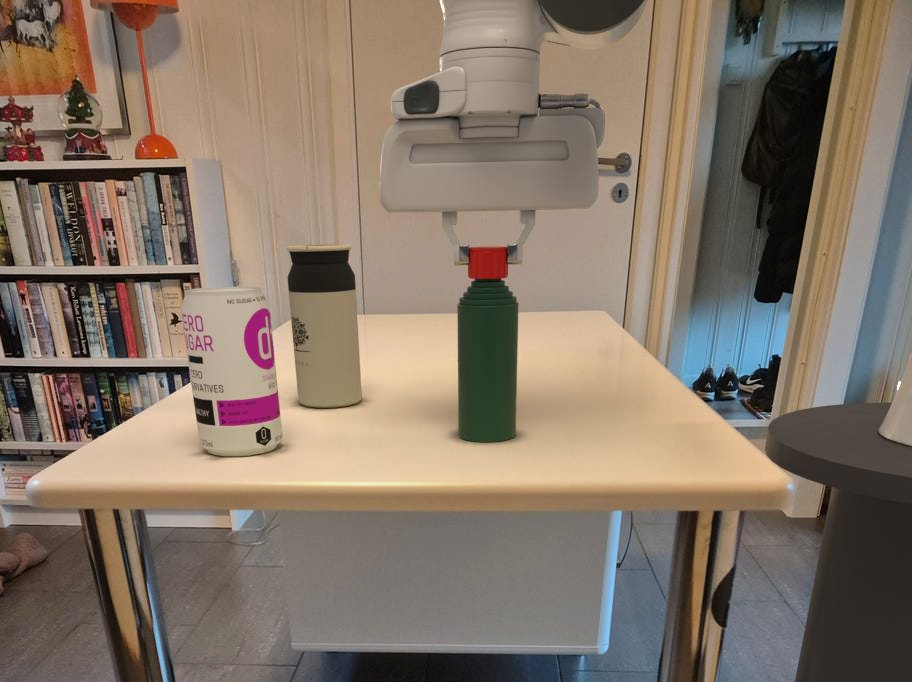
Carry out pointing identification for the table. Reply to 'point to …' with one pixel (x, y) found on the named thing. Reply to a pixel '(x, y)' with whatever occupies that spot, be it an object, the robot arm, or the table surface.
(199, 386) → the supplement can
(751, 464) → the table surface
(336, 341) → the travel mug
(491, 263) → the cap
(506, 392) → the bottle
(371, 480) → the table surface
